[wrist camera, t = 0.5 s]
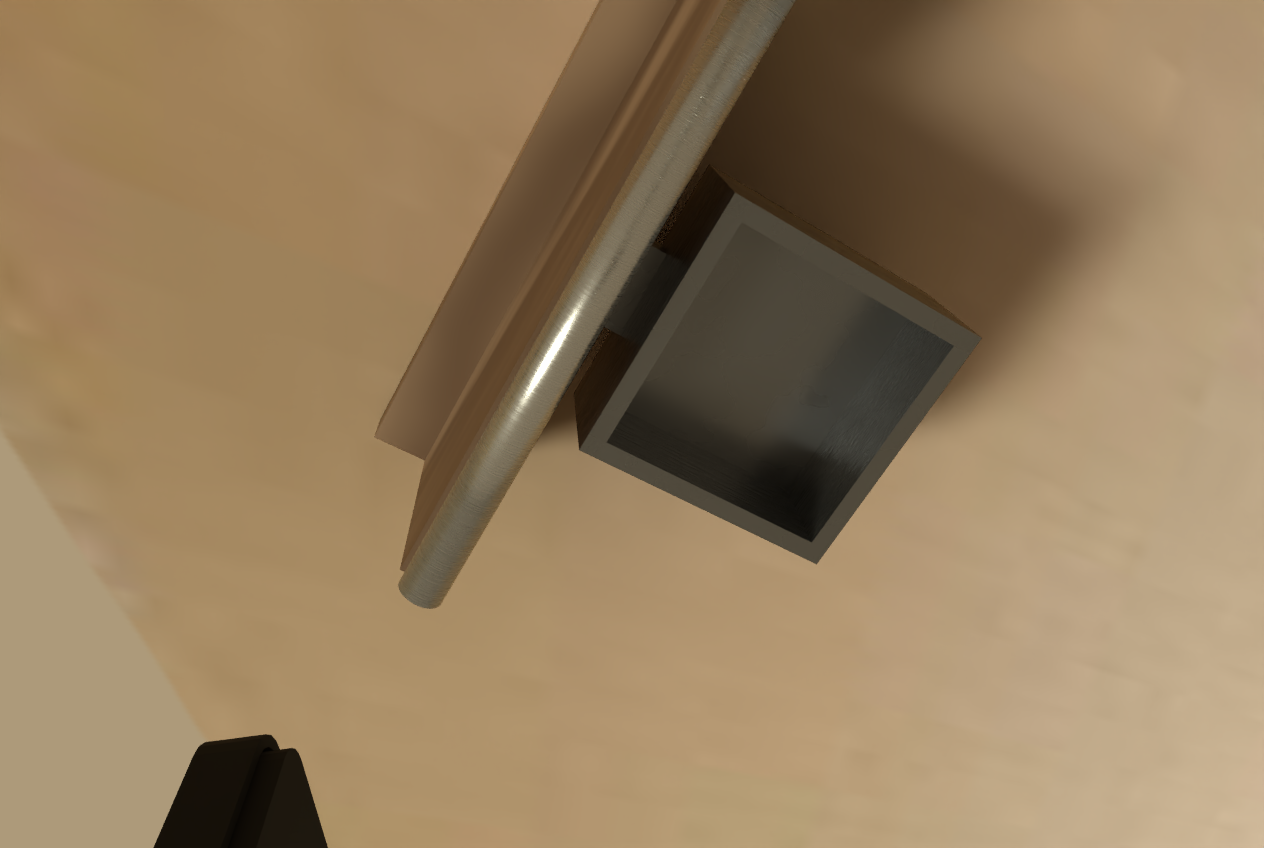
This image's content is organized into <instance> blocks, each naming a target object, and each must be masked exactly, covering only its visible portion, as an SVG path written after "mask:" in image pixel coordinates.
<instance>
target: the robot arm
mask: <svg viewBox="0 0 1264 848" xmlns="http://www.w3.org/2000/svg"><path fill="white" fill-rule="evenodd" d="M154 848H328V847H327V843H326V840H325V837H324V833H323V830H322V827H321V824H320V820H319V817H318V814H317V810H316V807H315V804H314V800H313V797H312V794H311V790H310V787H309V784H308V781H307V777H306V774H305V771H304V767H303V764H302V761H301V758H300V756H299V753H298V752H297V751H296V749H293V748H289V749H282V750H280V749H279V746H278V744H277V742H276V740H275V739H274V738H273V737H272V735H267V734H265V735H258V736H250V737H242V738H235V739H227V740H219V741H211V742H205V743H203V744H202V745H200V746H199V747H198V749H197V751H196V752H195V754H194V756H193V758H192V760H191V763H190V765H189V767H188V769H187V772H186V774H185V777H184V779H183V781H182V783H181V786H180V788H179V790H178V792H177V795H176V797H175V799H174V802H173V804H172V806H171V809H170V811H169V813H168V816H167V818H166V820H165V823H164V825H163V827H162V829H161V832H160V834H159V836H158V838H157V841H156V843H155V845H154Z"/></svg>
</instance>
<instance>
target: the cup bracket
mask: <svg viewBox="0 0 1264 848" xmlns="http://www.w3.org/2000/svg"><path fill="white" fill-rule="evenodd" d="M795 1H796V0H600V1H599V3H598V5H597V7H596V8H595V10H594V12H593V14H592V16H591V18H590V20H589V22H588V24H587V26H586V28H585V30H584V31H583V33H582V35H581V37H580V39H579V41H578V43H577V45H576V47H575V49H574V51H573V52H572V54H571V56H570V58H569V60H568V62H567V64H566V66H565V68H564V70H563V72H562V73H561V75H560V77H559V79H558V81H557V83H556V85H555V87H554V89H553V91H552V93H551V95H550V96H549V98H548V100H547V102H546V104H545V106H544V108H543V110H542V112H541V114H540V116H539V117H538V119H537V121H536V123H535V125H534V127H533V129H532V131H531V133H530V135H529V137H528V139H527V140H526V142H525V144H524V146H523V148H522V150H521V152H520V154H519V156H518V158H517V160H516V161H515V163H514V165H513V167H512V169H511V171H510V173H509V175H508V177H507V179H506V181H505V182H504V184H503V186H502V188H501V190H500V192H499V194H498V196H497V198H496V200H495V202H494V204H493V205H492V207H491V209H490V211H489V213H488V215H487V217H486V219H485V221H484V223H483V225H482V226H481V228H480V230H479V232H478V234H477V236H476V238H475V240H474V242H473V244H472V246H471V248H470V249H469V251H468V253H467V255H466V257H465V259H464V261H463V263H462V265H461V267H460V269H459V270H458V272H457V274H456V276H455V278H454V280H453V282H452V284H451V286H450V288H449V290H448V291H447V293H446V295H445V297H444V299H443V301H442V303H441V305H440V307H439V309H438V311H437V313H436V314H435V316H434V318H433V320H432V322H431V324H430V326H429V328H428V330H427V332H426V334H425V335H424V337H423V339H422V341H421V343H420V345H419V347H418V349H417V351H416V353H415V355H414V356H413V358H412V360H411V362H410V364H409V366H408V368H407V370H406V372H405V374H404V376H403V378H402V379H401V381H400V383H399V385H398V387H397V389H396V391H395V393H394V395H393V397H392V399H391V400H390V402H389V404H388V406H387V408H386V410H385V412H384V414H383V416H382V418H381V420H380V422H379V425H378V428H377V431H376V433H375V436H374V437H375V438H377V439H379V440H381V441H384V442H386V443H388V444H390V445H392V446H395V447H397V448H399V449H401V450H403V451H406V452H408V453H410V454H412V455H414V456H417V457H419V458H421V459H423V460H425V462H424V466H423V470H422V475H421V479H420V484H419V488H418V492H417V497H416V501H415V506H414V510H413V514H412V519H411V523H410V528H409V532H408V536H407V541H406V545H405V550H404V554H403V558H402V563H401V567H400V570H402V571H404V574H403V576H402V577H401V579H400V581H399V584H398V586H399V590H400V592H401V593H402V595H403V596H404V597H405V598H406V599H407V600H409V601H410V602H412V603H413V604H415V605H417V606H420V607H423V608H429V609H432V608H437V607H439V606H440V605H441V603H442V602H443V600H444V598H445V596H446V595H447V593H448V591H449V590H450V588H451V586H452V585H453V583H454V581H455V579H456V578H457V576H458V574H459V573H460V571H461V569H462V568H463V566H464V564H465V562H466V561H467V559H468V557H469V556H470V554H471V552H472V550H473V549H474V547H475V545H476V544H477V542H478V540H479V539H480V537H481V535H482V533H483V532H484V530H485V528H486V527H487V525H488V523H489V522H490V520H491V518H492V516H493V515H494V513H495V511H496V510H497V508H498V506H499V505H500V503H501V501H502V499H503V498H504V496H505V494H506V493H507V491H508V489H509V488H510V486H511V484H512V482H513V481H514V479H515V477H516V476H517V474H518V472H519V471H520V469H521V467H522V465H523V464H524V462H525V460H526V459H527V457H528V455H529V453H530V452H531V450H532V448H533V447H534V445H535V443H536V442H537V440H538V438H539V436H540V435H541V433H542V431H543V430H544V428H545V426H546V425H547V423H548V421H549V419H550V418H551V416H552V414H553V413H554V411H555V409H556V408H557V406H558V404H559V402H560V401H561V399H562V397H563V396H564V394H565V392H566V391H567V389H568V387H569V385H570V384H571V382H572V380H573V379H574V377H575V375H576V374H577V372H578V370H579V368H580V367H581V365H582V363H583V362H584V360H585V358H586V357H587V355H588V353H589V351H590V350H591V348H592V346H593V345H594V343H595V341H596V339H597V338H598V336H599V334H600V333H601V331H602V329H603V328H604V327H605V328H607V329H609V330H611V332H610V333H609V335H608V337H607V338H606V340H605V342H604V343H603V345H602V347H601V348H600V350H599V352H598V354H597V355H596V357H595V359H594V360H593V362H592V364H591V365H590V367H589V369H588V370H587V372H586V374H585V376H584V377H583V379H582V381H581V382H580V384H579V386H578V387H577V389H576V391H575V392H574V399H575V410H576V421H577V431H578V442H579V450H580V451H582V452H584V453H587V454H589V455H591V456H593V457H595V458H597V459H599V460H601V461H603V462H605V463H607V464H609V465H611V466H614V467H616V468H618V469H620V470H622V471H624V472H626V473H628V474H630V475H632V476H634V477H636V478H638V479H641V480H643V481H645V482H647V483H649V484H651V485H653V486H655V487H657V488H659V489H661V490H663V491H666V492H668V493H670V494H672V495H674V496H676V497H678V498H680V499H682V500H684V501H686V502H688V503H690V504H693V505H695V506H697V507H699V508H701V509H703V510H705V511H707V512H709V513H711V514H713V515H715V516H717V517H720V518H722V519H724V520H726V521H728V522H730V523H732V524H734V525H736V526H738V527H740V528H742V529H744V530H747V531H749V532H751V533H753V534H755V535H757V536H759V537H761V538H763V539H765V540H767V541H769V542H772V543H774V544H776V545H778V546H780V547H782V548H784V549H786V550H788V551H790V552H792V553H794V554H796V555H799V556H801V557H803V558H805V559H807V560H809V561H811V562H813V563H815V564H817V563H818V562H819V560H820V559H821V558H822V556H823V555H824V553H825V552H826V551H827V549H828V548H829V547H830V545H831V544H832V542H833V541H834V540H835V538H836V537H837V536H838V534H839V533H840V532H841V530H842V529H843V527H844V526H845V525H846V523H847V522H848V521H849V519H850V518H851V516H852V515H853V514H854V512H855V511H856V510H857V508H858V507H859V506H860V504H861V503H862V501H863V500H864V499H865V497H866V496H867V495H868V493H869V492H870V490H871V489H872V488H873V486H874V485H875V484H876V482H877V481H878V479H879V478H880V477H881V475H882V474H883V473H884V471H885V470H886V469H887V467H888V466H889V464H890V463H891V462H892V460H893V459H894V458H895V456H896V455H897V453H898V452H899V451H900V449H901V448H902V447H903V445H904V444H905V443H906V441H907V440H908V438H909V437H910V436H911V434H912V433H913V432H914V430H915V429H916V427H917V426H918V425H919V423H920V422H921V421H922V419H923V418H924V417H925V415H926V414H927V412H928V411H929V410H930V408H931V407H932V406H933V404H934V403H935V401H936V400H937V399H938V397H939V396H940V395H941V393H942V392H943V391H944V389H945V388H946V386H947V385H948V384H949V382H950V381H951V380H952V378H953V377H954V375H955V374H956V373H957V371H958V370H959V369H960V367H961V366H962V365H963V363H964V362H965V360H966V359H967V358H968V356H969V355H970V354H971V352H972V351H973V349H974V348H975V347H976V345H977V344H978V343H979V341H980V340H981V339H982V338H981V337H980V336H979V335H977V334H976V333H975V332H974V331H973V330H971V329H970V328H969V327H968V326H966V325H965V324H964V323H963V322H961V321H960V320H959V319H958V318H957V317H955V316H954V315H953V314H952V313H950V312H949V311H948V310H947V309H945V308H944V307H943V306H942V305H941V304H939V303H938V302H937V301H936V300H934V299H933V298H932V297H931V296H929V295H928V294H927V293H925V292H923V291H922V290H920V289H918V288H917V287H915V286H913V285H912V284H910V283H908V282H906V281H905V280H903V279H901V278H900V277H898V276H896V275H895V274H893V273H891V272H890V271H888V270H886V269H885V268H883V267H881V266H880V265H878V264H876V263H874V262H873V261H871V260H869V259H868V258H866V257H864V256H863V255H861V254H859V253H858V252H856V251H854V250H853V249H851V248H849V247H848V246H846V245H844V244H842V243H841V242H839V241H837V240H836V239H834V238H832V237H831V236H829V235H827V234H826V233H824V232H822V231H821V230H819V229H817V228H816V227H814V226H812V225H810V224H809V223H807V222H805V221H804V220H802V219H800V218H799V217H797V216H795V215H794V214H792V213H790V212H789V211H787V210H785V209H784V208H782V207H780V206H778V205H777V204H775V203H773V202H772V201H770V200H768V199H767V198H765V197H763V196H762V195H760V194H758V193H757V192H755V191H753V190H752V189H750V188H748V187H746V186H745V185H743V184H741V183H740V182H738V181H736V180H735V179H733V178H731V177H730V176H728V175H726V174H725V173H723V172H721V171H720V170H718V169H716V168H714V167H713V166H711V165H709V166H708V167H707V169H706V171H705V173H704V174H703V176H702V178H701V179H700V181H699V183H698V184H697V186H696V188H695V189H694V191H693V193H692V195H691V196H690V198H689V200H688V201H687V203H686V205H685V206H684V208H683V210H682V211H681V213H680V215H679V217H678V218H677V220H676V222H675V223H674V225H673V227H672V228H671V230H670V232H669V233H668V235H667V237H666V239H665V240H664V242H663V244H660V243H658V242H656V241H655V239H656V237H657V236H658V234H659V232H660V231H661V229H662V227H663V225H664V224H665V222H666V220H667V219H668V217H669V215H670V214H671V212H672V210H673V208H674V207H675V205H676V203H677V202H678V200H679V198H680V197H681V195H682V193H683V191H684V190H685V188H686V186H687V185H688V183H689V181H690V180H691V178H692V176H693V174H694V173H695V171H696V169H697V168H698V166H699V164H700V163H701V161H702V159H703V157H704V156H705V154H706V152H707V151H708V149H709V147H710V146H711V144H712V142H713V140H714V139H715V137H716V135H717V134H718V132H719V130H720V129H721V127H722V125H723V123H724V122H725V120H726V118H727V117H728V115H729V113H730V111H731V110H732V108H733V106H734V105H735V103H736V101H737V100H738V98H739V96H740V94H741V93H742V91H743V89H744V88H745V86H746V84H747V83H748V81H749V79H750V77H751V76H752V74H753V72H754V71H755V69H756V67H757V66H758V64H759V62H760V60H761V59H762V57H763V55H764V54H765V52H766V50H767V49H768V47H769V45H770V43H771V42H772V40H773V38H774V37H775V35H776V33H777V32H778V30H779V28H780V26H781V25H782V23H783V21H784V20H785V18H786V16H787V14H788V13H789V11H790V9H791V8H792V6H793V4H794V3H795Z"/></svg>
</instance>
